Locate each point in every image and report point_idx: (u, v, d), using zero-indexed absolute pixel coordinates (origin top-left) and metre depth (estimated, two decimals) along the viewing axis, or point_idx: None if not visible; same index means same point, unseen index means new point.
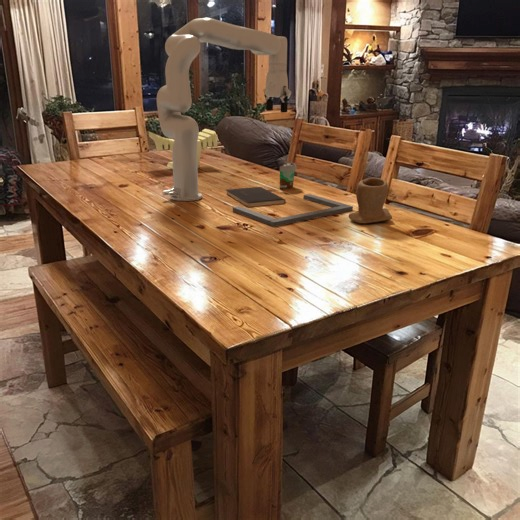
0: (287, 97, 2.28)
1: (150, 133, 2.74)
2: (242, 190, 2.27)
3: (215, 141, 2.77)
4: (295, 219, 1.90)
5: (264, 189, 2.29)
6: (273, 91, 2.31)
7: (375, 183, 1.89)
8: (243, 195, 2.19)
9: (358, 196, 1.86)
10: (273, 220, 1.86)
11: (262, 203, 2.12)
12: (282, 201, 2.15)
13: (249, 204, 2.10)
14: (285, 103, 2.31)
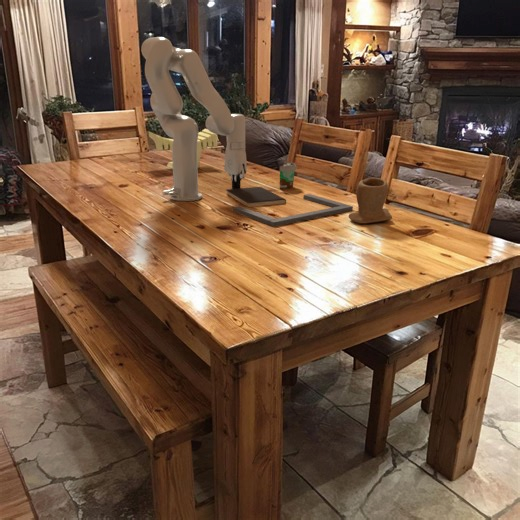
0: (239, 178, 2.27)
1: (150, 133, 2.74)
2: (242, 190, 2.27)
3: (215, 141, 2.77)
4: (295, 219, 1.90)
5: (264, 189, 2.29)
6: (232, 168, 2.26)
7: (375, 183, 1.89)
8: (243, 195, 2.19)
9: (358, 196, 1.86)
10: (273, 220, 1.86)
11: (263, 203, 2.11)
12: (283, 201, 2.14)
13: (250, 204, 2.09)
14: (238, 182, 2.29)
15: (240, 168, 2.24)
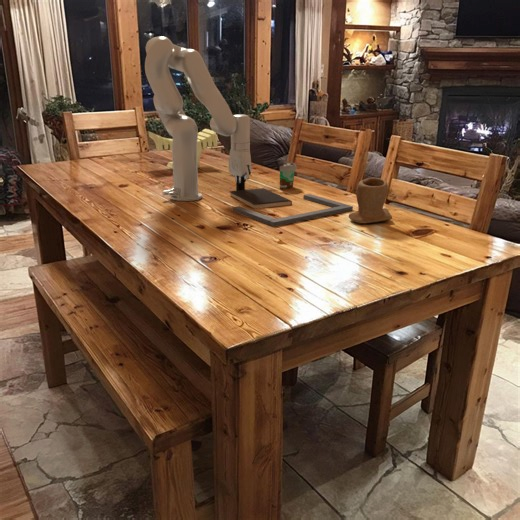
0: (243, 179, 2.25)
1: (150, 133, 2.74)
2: (246, 192, 2.24)
3: (215, 141, 2.77)
4: (295, 219, 1.90)
5: (268, 190, 2.27)
6: (236, 170, 2.24)
7: (375, 183, 1.89)
8: (248, 197, 2.16)
9: (358, 196, 1.86)
10: (273, 220, 1.86)
11: (269, 205, 2.09)
12: (288, 202, 2.13)
13: (256, 206, 2.07)
14: (242, 183, 2.27)
15: (245, 169, 2.21)
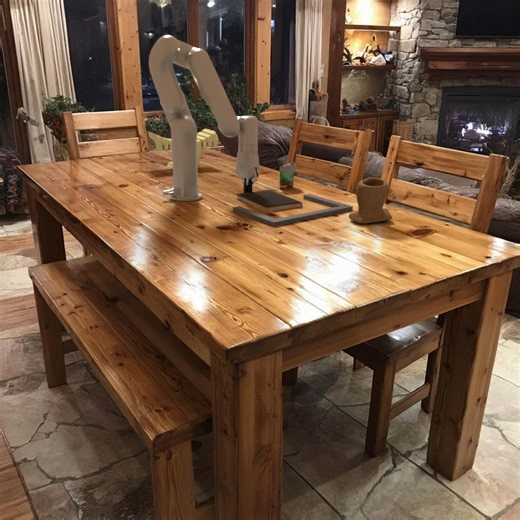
0: (251, 181, 2.21)
1: (150, 133, 2.74)
2: (253, 194, 2.20)
3: (215, 141, 2.77)
4: (295, 219, 1.90)
5: (275, 192, 2.23)
6: (244, 172, 2.20)
7: (375, 183, 1.89)
8: (257, 199, 2.12)
9: (358, 196, 1.86)
10: (273, 220, 1.86)
11: (280, 207, 2.06)
12: (299, 204, 2.10)
13: (268, 208, 2.03)
14: (250, 186, 2.23)
15: (252, 171, 2.17)
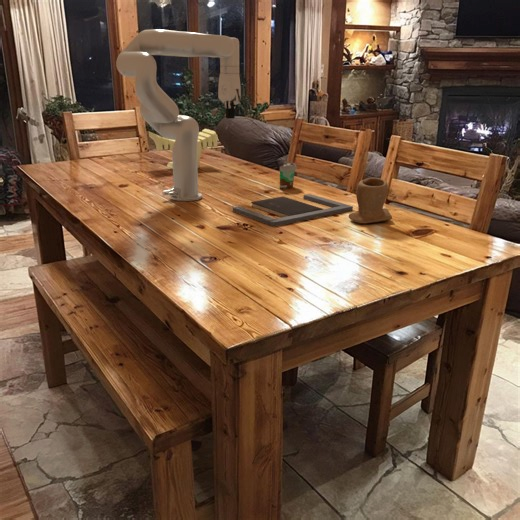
0: (233, 104, 2.24)
1: (150, 133, 2.74)
2: (269, 201, 2.10)
3: (215, 141, 2.77)
4: (295, 219, 1.90)
5: (290, 199, 2.14)
6: (225, 94, 2.23)
7: (375, 183, 1.89)
8: (277, 207, 2.02)
9: (358, 196, 1.86)
10: (273, 220, 1.86)
11: None
12: None
13: None
14: (232, 109, 2.26)
15: (234, 93, 2.20)
